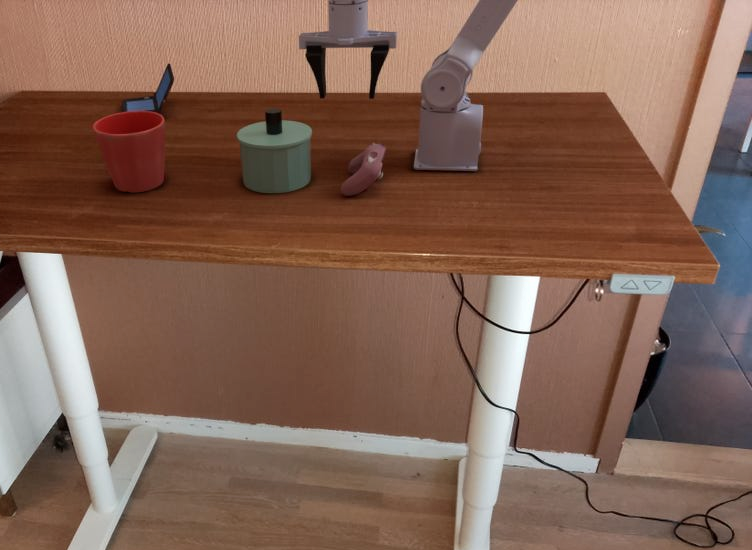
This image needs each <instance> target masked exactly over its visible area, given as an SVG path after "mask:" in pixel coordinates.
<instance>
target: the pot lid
mask: <svg viewBox="0 0 752 550" xmlns="http://www.w3.org/2000/svg"><path fill="white" fill-rule="evenodd" d="M264 117H265V118H264V119H265V121H258V122H255V123H251V124H248V125H245V126H244V127H242V128H240V129H239V130H238V131H237V133H236V139H237V142H238V143H239V144H240V143H241V144H243V145H245V146H249V147H253V148H260V149H277V148H286V147H291V146H295V145H299V144H301V143H304V142H306V141H307V140H309V139H310V140H311V138H312V136H313V129H312V128H311V126H310V125H308V124H306V123H303V122H300V121H294V120H284V119H283V115H282V109H281V108H277V107H273V108H267V109H265V110H264Z"/></svg>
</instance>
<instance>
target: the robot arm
mask: <svg viewBox="0 0 752 550" xmlns="http://www.w3.org/2000/svg"><path fill="white" fill-rule="evenodd" d="M518 1H519V0H478V2H477V3H476V5H475V6H474V8H473V9H472V11H471V13H470V14H469V16H468V18H467V19H466V21H465V22H464V24H463V26H462V28H461V29H460V30H459V32H458V33H457V35H456V37H455V38H454V40H453V42H452V43H451V45H450V46H449V47H448V48H447V49H446V50H445V51H443V52H442V53H439V55H438V56H436V58H434V59H433V62H432V63H431V66H430V68H429V70H428V71H427V72H426V73H425V74H424V76H423V78H422V80H421V84H420V93H421V94H420V95H421V97H422V99H421V100H420V113H419V130H418V143H417V148H416V150H415V153H414V161H413V169H414V170H417V171H452V172H453V171H455V172H458V171H459V172H476V171H478V162H479V155H481V151H482V142H481V138H482V129H483V119H484V118H483V117H484V105H482V104H476V103H475V104H474V103H471V98H469V95H468V93H467V91H466V89H467V87H468V85H469V84H470V82H471V81H472V77H473V75H474V74H473V73H474V69H475V67H476V66H477V64H478V63H479V61H480V59H481V58H482V56H483V54H484V53H485V51H486V49H487V48H488V46H489V45H490V43H491V42H492V40H493V39H494V37H495V36H496V34H497V33H498V32H499V30H500V28H501V26H503V23H504V22H505V21H506V19H507V18H508V16H509V15H510V13H511V12H512V11H513V8H514V7H515V6H516V4H517V3H518ZM327 4H328V5H327V7H328V9H327V10H328V11H327V13H328V24H327V25H328V30H325V31H324V30H323V31H312V32H300V34H299V35H298V50H305V54H304V55H305V59H306V62H307V64H308V65H309V66H310V67H309V68H310V69H311V71H312V73H313V77H314V79H315V81H316V85H317V89H318V94H319V99H323V100H324V99H325V98H326V96H327V76H326V59H327V58H326V56H327V49H338V48H339V49H351V48H353V49H354V48H355V49H357V48H358V49H359V48H361V49H362V48H370V49H371V51H370V80H369V90H368V99H369V100H374V99H375V97H376V89H377V84H378V80H379V76H380V74H381V71H382V68H383V66H384V64H385V62H386V59H387V57H388V56H389V52H390V49H397V46H398V31H383V30H371V29H370V30H369V29H368V13H369V12H368V11H369V10H368V8H369V0H327Z"/></svg>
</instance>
